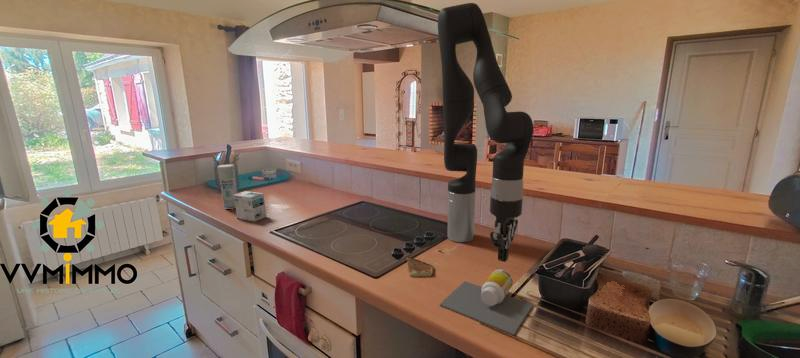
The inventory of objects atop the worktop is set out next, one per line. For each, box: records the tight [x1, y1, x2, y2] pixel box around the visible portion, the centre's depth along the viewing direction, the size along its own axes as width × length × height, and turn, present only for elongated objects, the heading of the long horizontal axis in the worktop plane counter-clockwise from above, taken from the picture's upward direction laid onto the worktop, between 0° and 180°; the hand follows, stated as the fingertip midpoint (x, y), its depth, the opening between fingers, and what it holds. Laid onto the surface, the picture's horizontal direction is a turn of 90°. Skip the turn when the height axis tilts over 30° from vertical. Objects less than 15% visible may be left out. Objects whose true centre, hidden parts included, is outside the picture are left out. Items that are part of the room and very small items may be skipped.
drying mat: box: [439, 280, 534, 336], centre depth 82 cm, size 13×18×1 cm
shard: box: [406, 255, 435, 278], centre depth 101 cm, size 11×8×2 cm
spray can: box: [217, 164, 238, 210], centre depth 157 cm, size 6×6×20 cm
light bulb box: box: [234, 190, 267, 223], centre depth 145 cm, size 11×7×11 cm, turn 65°
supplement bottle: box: [481, 268, 514, 306], centre depth 84 cm, size 6×6×10 cm
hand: (502, 260), depth 88 cm, fingers closed
